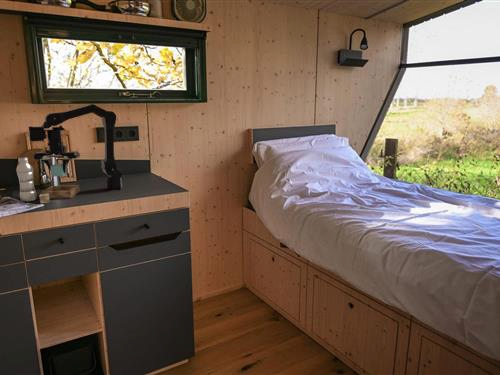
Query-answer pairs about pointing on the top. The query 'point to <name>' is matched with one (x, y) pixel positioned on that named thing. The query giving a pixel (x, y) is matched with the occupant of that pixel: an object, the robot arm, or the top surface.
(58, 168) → the teal block
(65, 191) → the serving box
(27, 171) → the plastic bottle
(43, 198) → the birch cube
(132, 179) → the top surface
